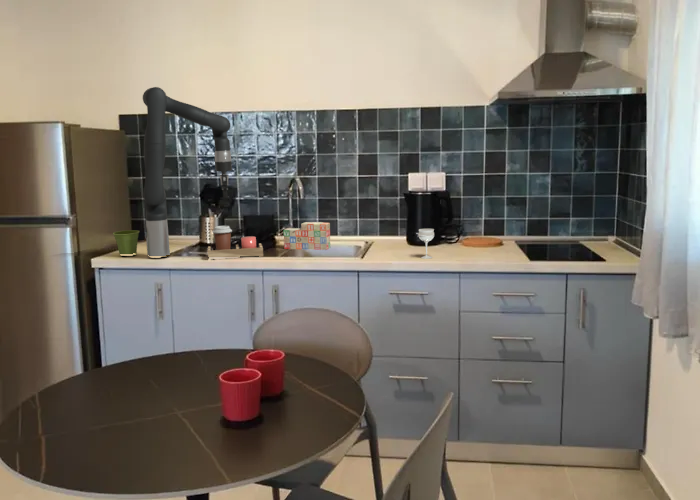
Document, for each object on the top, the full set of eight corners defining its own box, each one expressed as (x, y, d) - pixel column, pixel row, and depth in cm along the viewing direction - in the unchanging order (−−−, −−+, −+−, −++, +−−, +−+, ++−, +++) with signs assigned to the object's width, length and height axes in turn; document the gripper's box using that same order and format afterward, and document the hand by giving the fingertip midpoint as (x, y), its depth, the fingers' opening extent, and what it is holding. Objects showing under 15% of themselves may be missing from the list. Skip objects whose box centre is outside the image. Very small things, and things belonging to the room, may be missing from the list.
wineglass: (422, 259, 276) (421, 231, 274) (416, 256, 282) (415, 229, 280) (437, 258, 278) (436, 230, 276) (430, 255, 284) (430, 228, 282)
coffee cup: (235, 252, 307) (233, 227, 305) (215, 254, 303) (213, 228, 301) (231, 249, 315) (229, 224, 313) (212, 251, 312) (210, 226, 310)
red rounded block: (239, 255, 299) (238, 238, 298) (249, 253, 304) (248, 236, 303) (249, 256, 295) (248, 238, 294) (259, 254, 301) (258, 236, 299)
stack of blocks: (283, 249, 313) (282, 223, 311) (288, 247, 319) (287, 221, 317) (326, 250, 307) (326, 223, 305) (330, 247, 313) (329, 222, 311)
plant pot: (109, 257, 304) (106, 233, 302) (128, 253, 314) (126, 229, 312) (127, 259, 298) (125, 234, 296) (147, 254, 309) (145, 230, 307)
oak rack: (208, 255, 302) (208, 246, 302) (261, 251, 307) (260, 243, 306) (208, 260, 289) (207, 251, 289) (263, 256, 294) (262, 247, 293)
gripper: (215, 160, 313) (217, 196, 316) (214, 161, 299) (217, 199, 302) (231, 159, 314) (233, 195, 317) (231, 160, 301) (233, 198, 304)
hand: (225, 197), depth 310 cm, fingers open, 3 cm apart
